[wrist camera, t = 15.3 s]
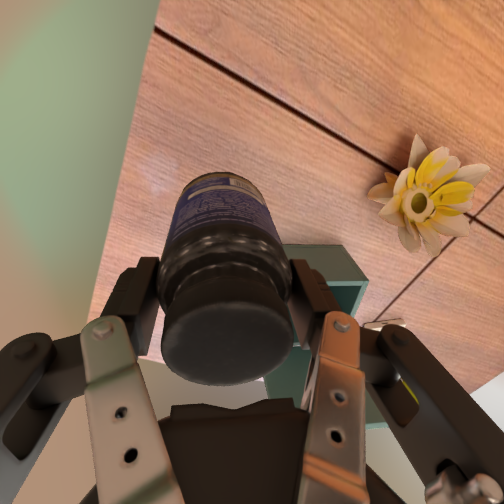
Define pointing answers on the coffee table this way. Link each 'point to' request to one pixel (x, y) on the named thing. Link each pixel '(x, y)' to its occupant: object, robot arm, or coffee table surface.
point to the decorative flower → (429, 197)
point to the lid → (293, 383)
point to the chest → (332, 274)
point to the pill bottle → (224, 285)
